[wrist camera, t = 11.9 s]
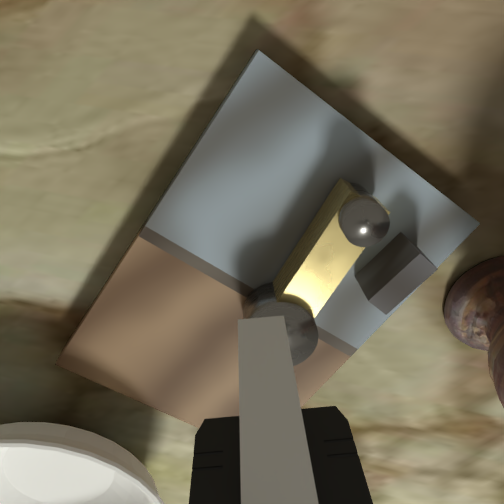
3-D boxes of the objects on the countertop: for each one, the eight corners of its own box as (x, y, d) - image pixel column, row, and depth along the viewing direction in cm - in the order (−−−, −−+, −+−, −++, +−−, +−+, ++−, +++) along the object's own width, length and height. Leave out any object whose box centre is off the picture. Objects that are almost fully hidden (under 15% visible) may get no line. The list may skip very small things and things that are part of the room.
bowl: (-120, 403, 33) (-191, 480, 27) (136, 346, 32) (117, 413, 26) (5, 553, 42) (-29, 635, 36) (208, 511, 41) (206, 589, 35)
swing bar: (287, 346, 30) (295, 383, 27) (231, 322, 29) (231, 358, 26) (390, 201, 26) (414, 225, 23) (329, 167, 25) (344, 186, 22)
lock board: (467, 214, 29) (508, 244, 25) (254, 437, 37) (259, 487, 33) (256, 49, 24) (264, 52, 20) (62, 349, 32) (38, 396, 28)
